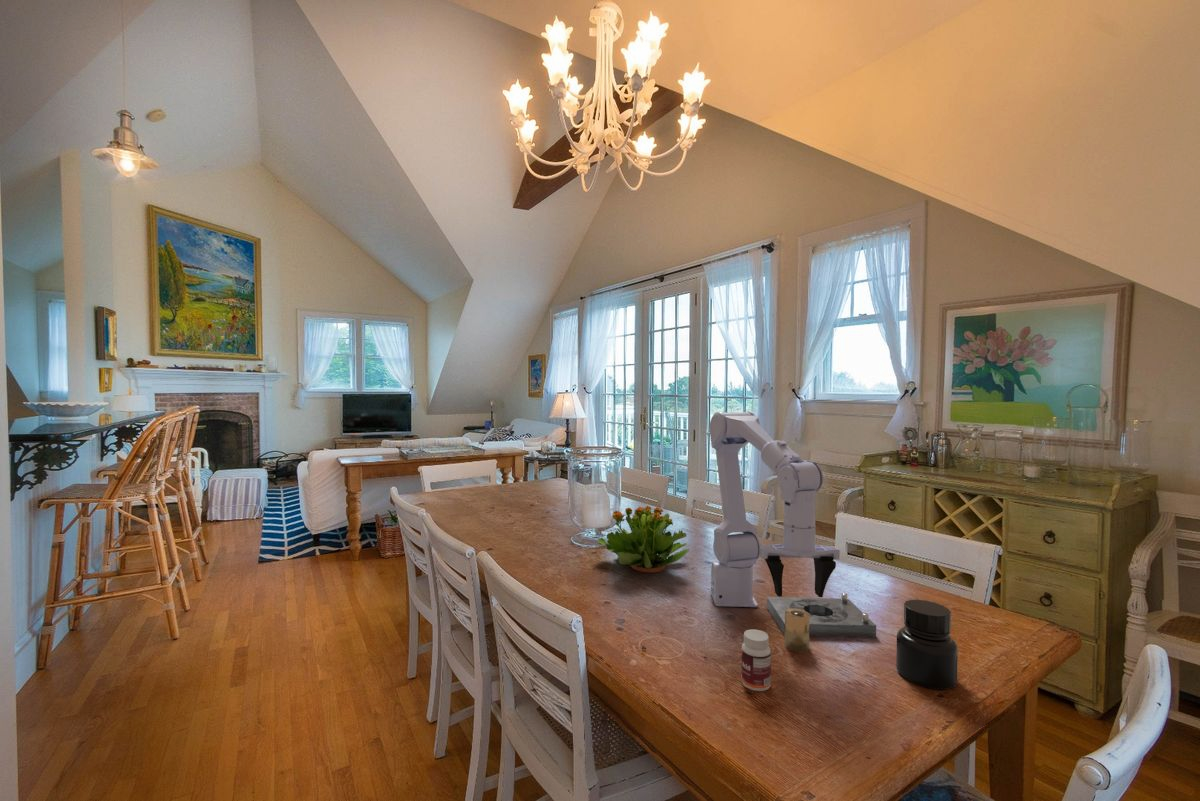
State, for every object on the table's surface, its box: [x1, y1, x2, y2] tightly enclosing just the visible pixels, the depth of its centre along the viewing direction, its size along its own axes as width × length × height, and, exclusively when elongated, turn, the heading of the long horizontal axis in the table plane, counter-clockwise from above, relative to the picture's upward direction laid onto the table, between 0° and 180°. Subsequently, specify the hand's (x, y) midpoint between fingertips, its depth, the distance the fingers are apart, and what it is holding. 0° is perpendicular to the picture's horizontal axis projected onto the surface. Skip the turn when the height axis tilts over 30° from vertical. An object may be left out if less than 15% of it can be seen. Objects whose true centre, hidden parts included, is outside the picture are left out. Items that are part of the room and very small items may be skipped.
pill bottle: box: [740, 628, 772, 692], centre depth 86 cm, size 5×5×8 cm
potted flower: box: [597, 505, 690, 573], centre depth 142 cm, size 25×24×18 cm
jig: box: [766, 592, 877, 639], centre depth 109 cm, size 18×13×4 cm
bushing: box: [784, 608, 810, 654], centre depth 99 cm, size 4×4×7 cm
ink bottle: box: [895, 599, 959, 690], centre depth 88 cm, size 10×9×12 cm
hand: (798, 594), depth 99 cm, fingers open, 7 cm apart
